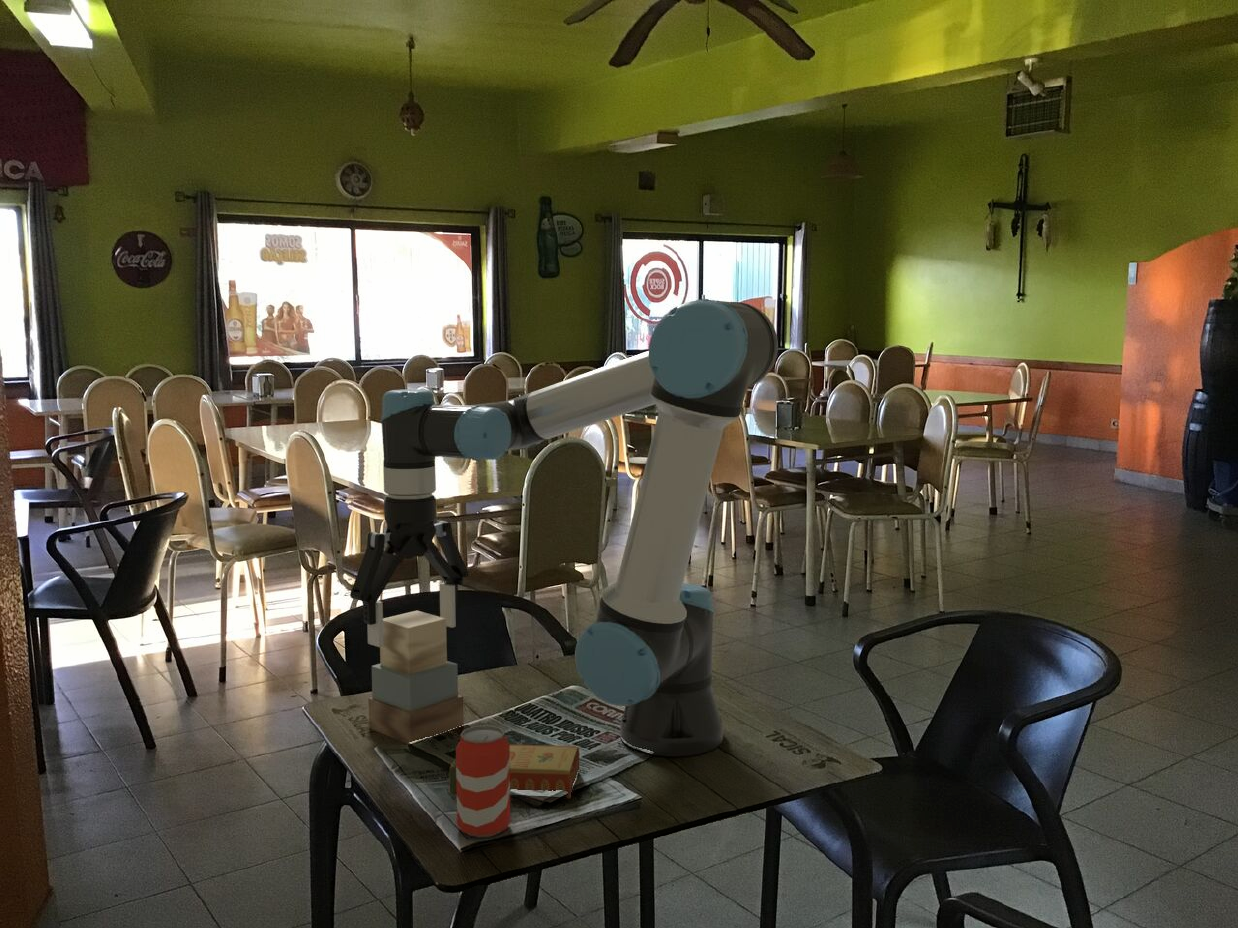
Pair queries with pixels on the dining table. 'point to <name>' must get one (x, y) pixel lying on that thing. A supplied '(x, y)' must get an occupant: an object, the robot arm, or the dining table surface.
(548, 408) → the robot arm
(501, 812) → the beverage can
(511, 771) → the carton
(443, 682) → the tower top
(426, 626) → the maple cube
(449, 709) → the tower base
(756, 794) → the dining table surface
